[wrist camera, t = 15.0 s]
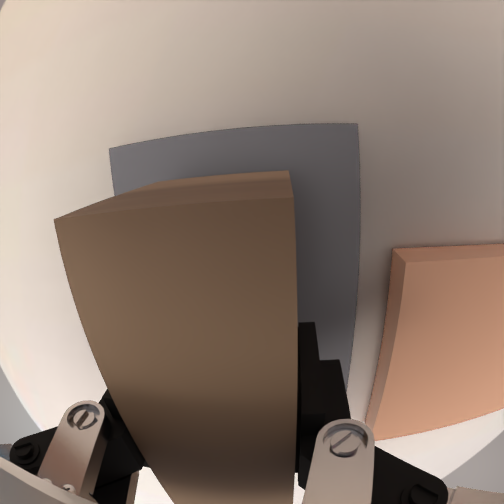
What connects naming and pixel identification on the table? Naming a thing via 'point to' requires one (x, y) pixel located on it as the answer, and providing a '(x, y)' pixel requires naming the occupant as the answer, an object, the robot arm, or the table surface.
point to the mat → (305, 205)
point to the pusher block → (196, 328)
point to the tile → (440, 340)
